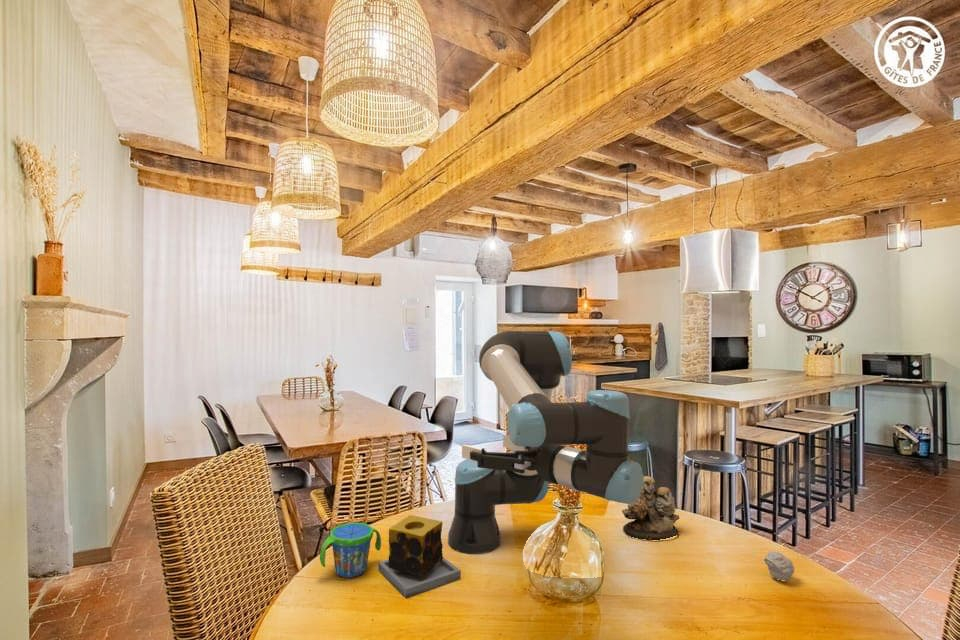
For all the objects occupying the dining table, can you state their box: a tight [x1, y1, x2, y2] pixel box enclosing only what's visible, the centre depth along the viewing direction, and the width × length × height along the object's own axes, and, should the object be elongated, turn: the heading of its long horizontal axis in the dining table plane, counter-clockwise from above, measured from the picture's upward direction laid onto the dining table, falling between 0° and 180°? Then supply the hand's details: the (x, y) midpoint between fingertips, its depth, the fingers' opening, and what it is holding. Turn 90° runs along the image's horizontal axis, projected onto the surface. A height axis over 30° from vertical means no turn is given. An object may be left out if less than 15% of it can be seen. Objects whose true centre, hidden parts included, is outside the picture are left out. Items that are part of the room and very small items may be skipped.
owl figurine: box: [621, 475, 680, 541], centre depth 146 cm, size 18×12×17 cm, turn 101°
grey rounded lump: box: [763, 550, 795, 581], centre depth 119 cm, size 6×7×7 cm
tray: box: [377, 556, 462, 599], centre depth 119 cm, size 15×15×2 cm
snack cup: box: [319, 522, 382, 579], centre depth 120 cm, size 16×10×10 cm
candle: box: [388, 514, 444, 576], centre depth 120 cm, size 10×10×10 cm
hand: (484, 445), depth 109 cm, fingers open, 13 cm apart
